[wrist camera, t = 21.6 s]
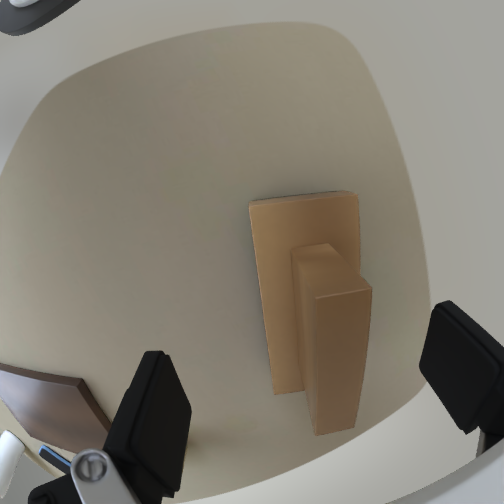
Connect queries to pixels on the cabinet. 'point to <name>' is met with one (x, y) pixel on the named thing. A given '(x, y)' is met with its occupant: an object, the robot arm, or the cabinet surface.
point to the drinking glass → (9, 459)
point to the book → (54, 408)
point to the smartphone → (55, 459)
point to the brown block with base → (314, 301)
